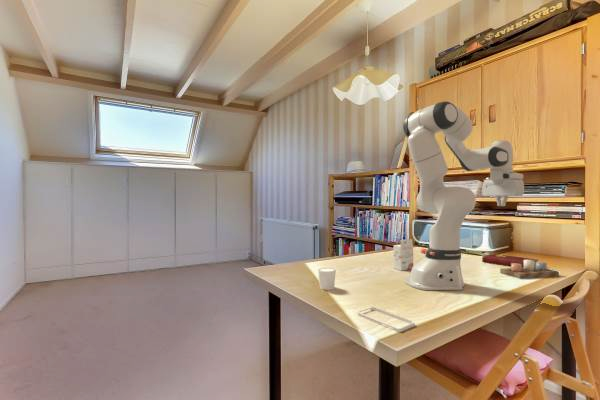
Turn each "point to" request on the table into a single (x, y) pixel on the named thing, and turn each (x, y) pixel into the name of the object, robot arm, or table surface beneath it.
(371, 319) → the beige elongated ring
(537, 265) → the slate-grey button
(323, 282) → the shot glass
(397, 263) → the ink cartridge box
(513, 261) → the hardcover book
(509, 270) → the button board
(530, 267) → the cream button
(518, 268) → the terracotta button
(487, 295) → the table surface
